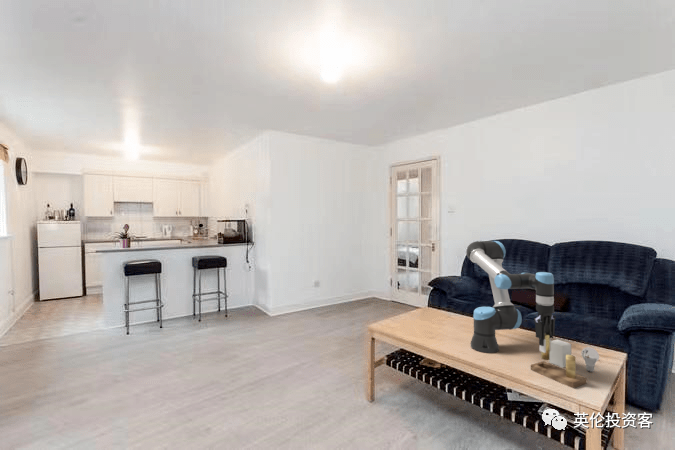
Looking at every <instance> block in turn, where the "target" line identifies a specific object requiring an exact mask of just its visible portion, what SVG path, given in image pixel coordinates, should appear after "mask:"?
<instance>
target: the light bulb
mask: <svg viewBox="0 0 675 450" xmlns="http://www.w3.org/2000/svg"><path fill="white" fill-rule="evenodd" d="M581 357H582V359H583V360H584V364H585V370H586V371H587V372H589V373H593V372H595V366H596V363H597V362H598V361H599V358H600V354H599V351H598V350H596V349H595V348H594V347H591V346H586V347H584V348H583V349H581Z"/></svg>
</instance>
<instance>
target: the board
mask: <svg viewBox="0 0 675 450" xmlns="http://www.w3.org/2000/svg"><path fill="white" fill-rule="evenodd" d="M530 371H532V372H535V373H538V374H540V375H542V376H544V377H546V378H549V379H552V380H553V381H556V382H558V383H561V384H562V385H565V386H567V387H570V388H572V389H575V388H578V387H581V386H584V385H586V384H587V383H588V382H587V381H588V380H587V377H585V376H582V375H581V374H578V373H576V356H575V355H572V354H571V355H566V367H565V368H562V367H560V366H557V365H554V364H552V363H549V362H547V361H546V360H543V361H540V362H536V363H535V362H534V363H533V364H530Z"/></svg>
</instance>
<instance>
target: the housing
mask: <svg viewBox="0 0 675 450" xmlns="http://www.w3.org/2000/svg"><path fill="white" fill-rule="evenodd" d="M566 355H572V343H569V342H567V341H563V340H560V339H558V338H557V339H554V340H551V351H550V360H548V363H550V364H552V365H555V366H557V367H560V368H563V369H565V368H566Z"/></svg>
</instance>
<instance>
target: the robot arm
mask: <svg viewBox="0 0 675 450" xmlns="http://www.w3.org/2000/svg"><path fill="white" fill-rule="evenodd" d="M465 251H466V253H465V254H466V256H467V258H468V259H469V261H471V262H472V263H473V264H474V263H475V264H476V265H477V266H479V267H480V268H481V269H482V270H483V271H484V272H485V273H487V274H488V278H489V283H490V288H491V291H492V295H493V297H492V298H493V301H494V305H493V306H492V307H491V306H479V307H476V308H475V309H474V310H473V314H472V315H473V316H472V317H473V335H472V338H471V340H470V348H471V349H472V350H474V349H475V351H477V352H479V353H487V354H488V353H489V354H494V353H497V352H499V350H500V346H499V343H498V341H497V337H496V331H502V330H505V331H506V330H516V329H518V328H520V326H521V325H522V321H523V319H522V313H521V311H520V310H519V309H517V308H516V306H515V304H513V303H512V302H511V299H510V294H509V290H515V289H520V290H521V289H531V290H535V302H536V303H535V311H536V312H537V317H534V319H533V321H534V327H535V328H534V329H535V337H536V338H537V339H538V343H539V352H540V353H541V352H544V353H546V339H545V334H549V336H550V351H551V341H552V339H554V336H555V330H556V329H555V328H556V327H555V326H556V325H555V324H556V319H557V318H556V315H553V313H554V312H555V306H554V304H555V302H554V301H555V298H554V294H555V287H554V286H555V278H554V274H553V273H551V272H546V271H538V272H536V273H535V274H534V273H532V272H531V273H530V272H521V273H512V274H511V273H509V272H508V271H507V270H506V269H504V268H503V265H502V263H503V262H504V258H505V257H506V253H507V250H506V247H505V246H504V244H503V243H502V242H500V241H499V240H486V241H485V240H483V241H482V240H477V241H473V242H471V243H469V245H468V246H467V248H466V250H465Z"/></svg>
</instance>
